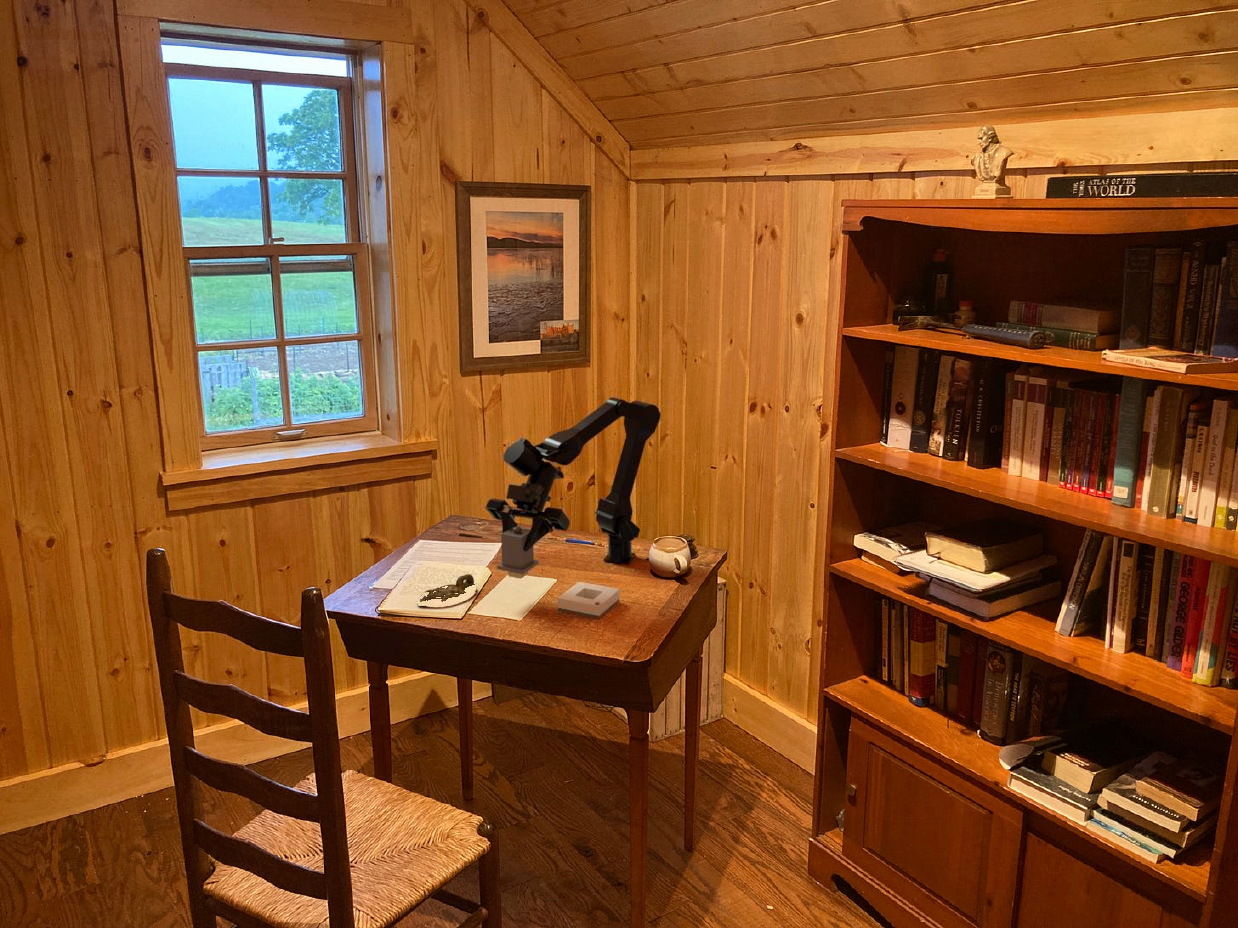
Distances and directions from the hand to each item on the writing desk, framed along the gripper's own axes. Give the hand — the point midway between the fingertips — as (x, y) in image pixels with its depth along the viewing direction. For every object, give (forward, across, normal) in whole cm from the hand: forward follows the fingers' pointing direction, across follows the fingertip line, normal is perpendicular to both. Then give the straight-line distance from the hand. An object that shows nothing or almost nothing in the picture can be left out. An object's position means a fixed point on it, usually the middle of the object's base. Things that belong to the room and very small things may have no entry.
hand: (514, 548), depth 214 cm
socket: (+6, +16, +12) cm, 21 cm away
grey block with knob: (+4, 0, +6) cm, 7 cm away
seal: (+12, -15, +6) cm, 20 cm away
